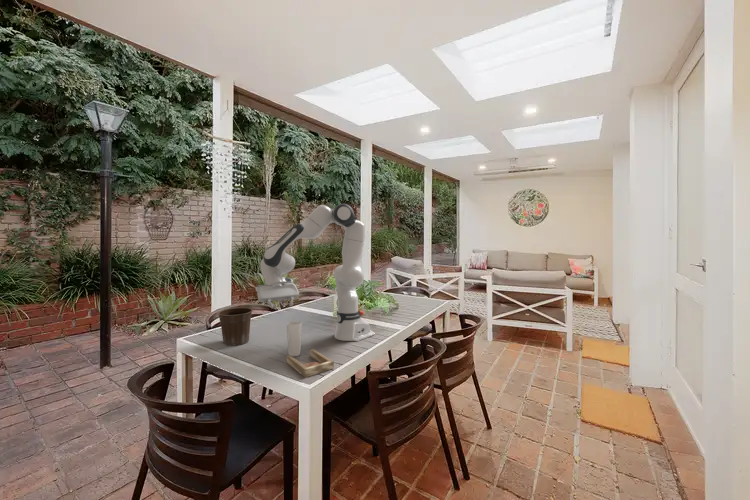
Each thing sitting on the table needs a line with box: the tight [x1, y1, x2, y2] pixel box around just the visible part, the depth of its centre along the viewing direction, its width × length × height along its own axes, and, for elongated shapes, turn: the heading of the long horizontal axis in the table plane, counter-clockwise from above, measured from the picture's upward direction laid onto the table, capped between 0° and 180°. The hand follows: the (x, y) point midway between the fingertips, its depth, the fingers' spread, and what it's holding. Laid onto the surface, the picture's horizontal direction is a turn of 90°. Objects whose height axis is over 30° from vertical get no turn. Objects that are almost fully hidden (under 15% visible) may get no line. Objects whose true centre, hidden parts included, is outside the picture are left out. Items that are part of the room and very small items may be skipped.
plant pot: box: [217, 307, 253, 347], centre depth 161 cm, size 16×16×16 cm
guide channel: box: [286, 348, 335, 378], centre depth 134 cm, size 13×18×3 cm
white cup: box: [286, 320, 303, 358], centre depth 145 cm, size 7×7×15 cm
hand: (282, 306), depth 154 cm, fingers open, 8 cm apart
